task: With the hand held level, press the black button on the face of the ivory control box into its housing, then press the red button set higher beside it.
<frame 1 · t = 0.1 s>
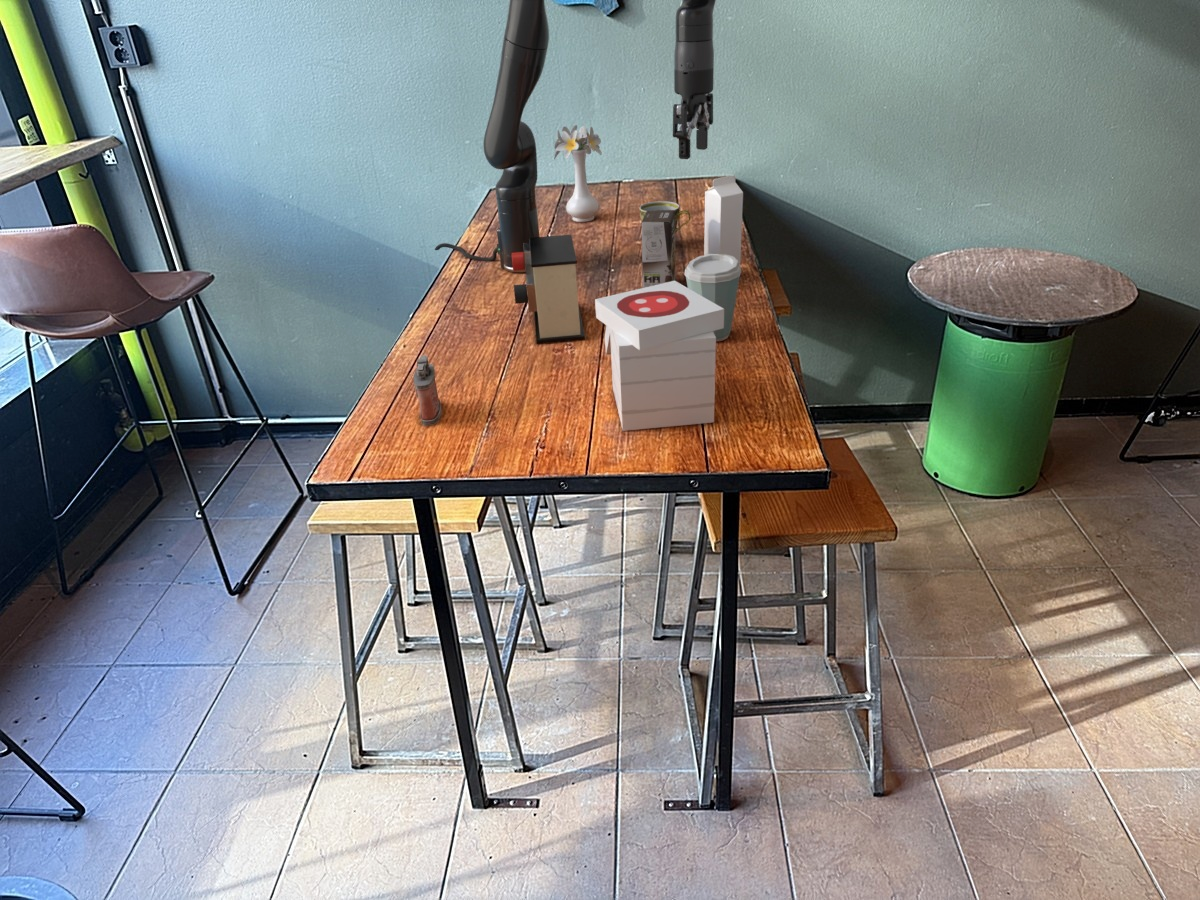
hand: (693, 153, 166), 29 cm above the table, tool pointing down, fingers open, 8 cm apart
milk: (721, 275, 190), on the table
flower vase: (581, 219, 234), on the table
red button: (518, 261, 167), point 12 cm above the table, slide at 0.1 cm
disposable coffee cup: (711, 336, 162), on the table
lighter: (431, 414, 140), on the table
ceramic cup: (665, 247, 209), on the table
coffee box: (659, 287, 185), on the table
black button: (520, 293, 161), point 9 cm above the table, slide at 0.1 cm
control box: (558, 324, 170), on the table
pizza boxes: (654, 391, 143), on the table
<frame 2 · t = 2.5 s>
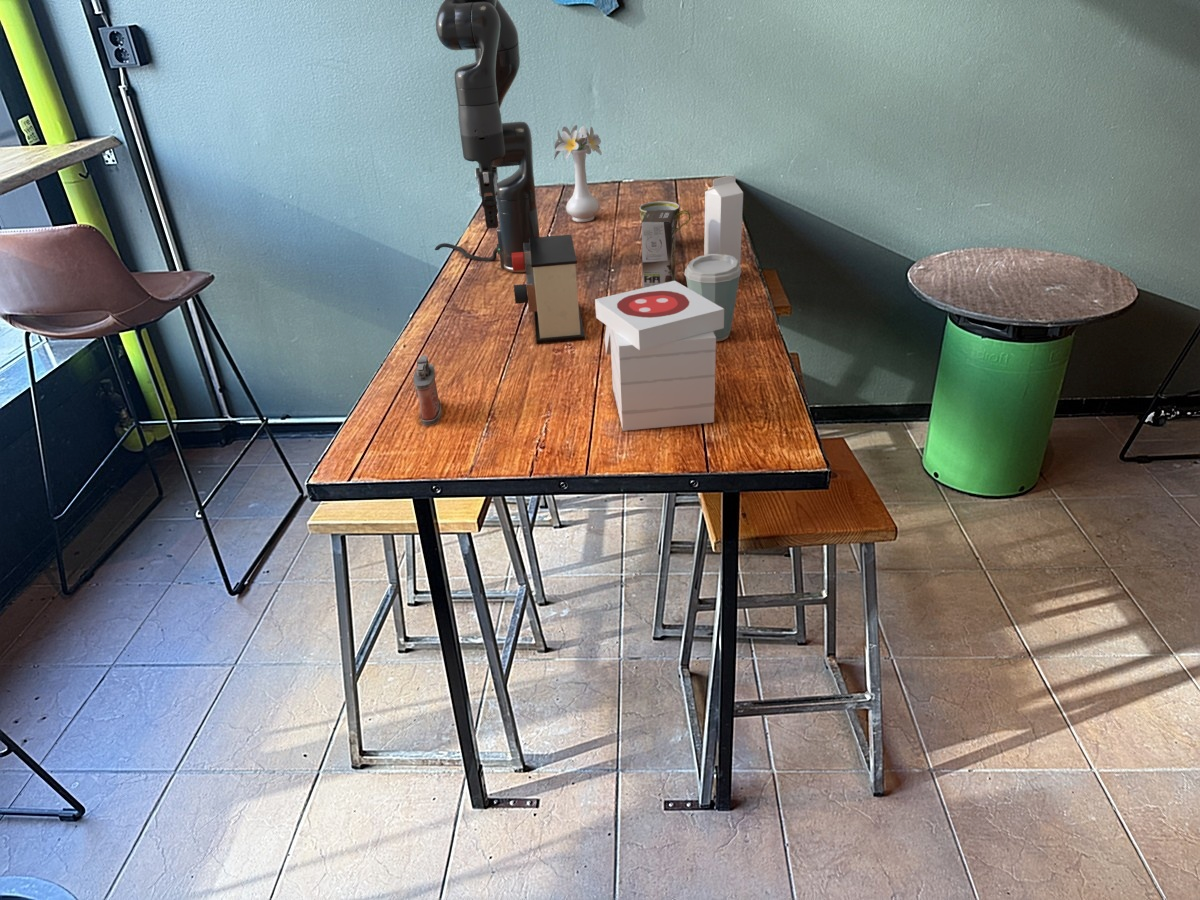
hand: (492, 221, 154), 23 cm above the table, tool pointing down, fingers open, 8 cm apart
nothing on the table moved.
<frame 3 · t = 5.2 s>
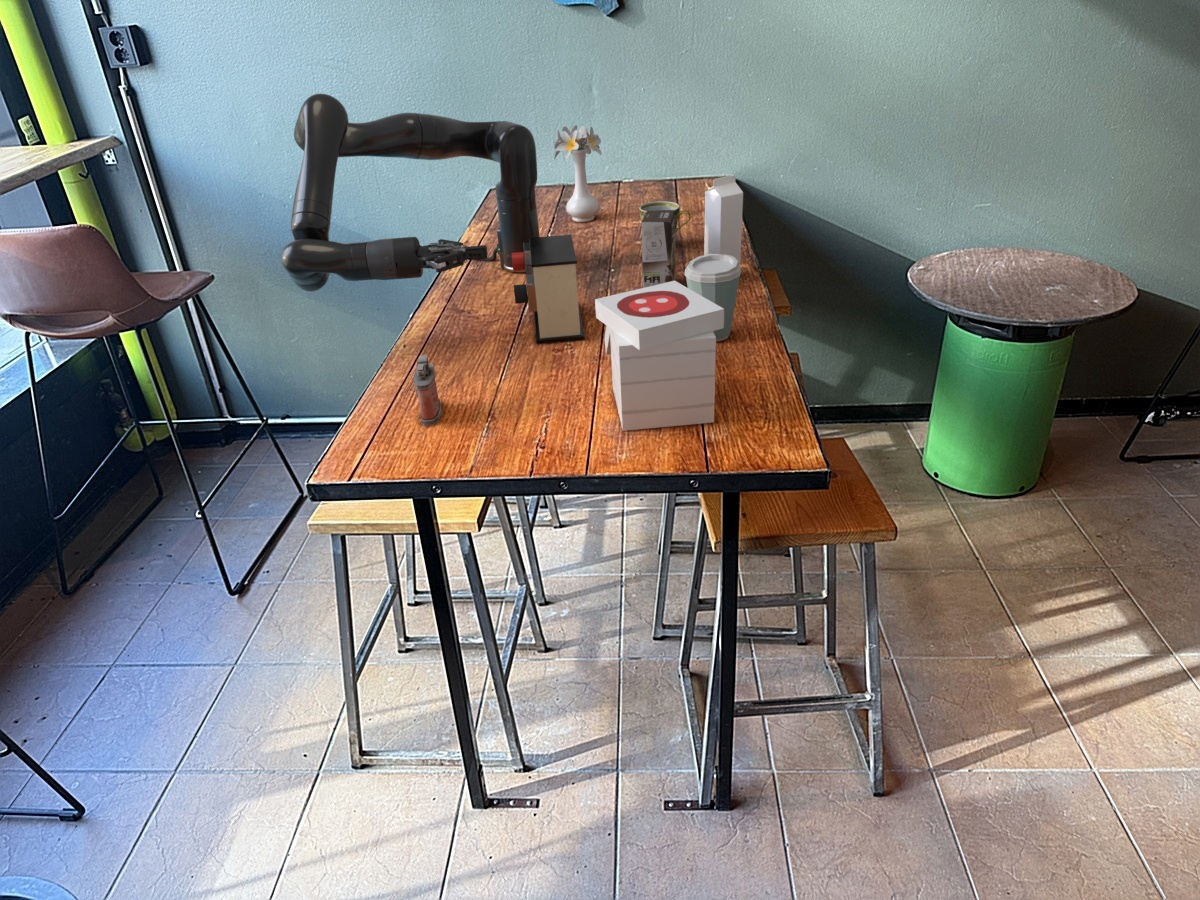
hand: (486, 251, 156), 18 cm above the table, tool horizontal, fingers closed
nothing on the table moved.
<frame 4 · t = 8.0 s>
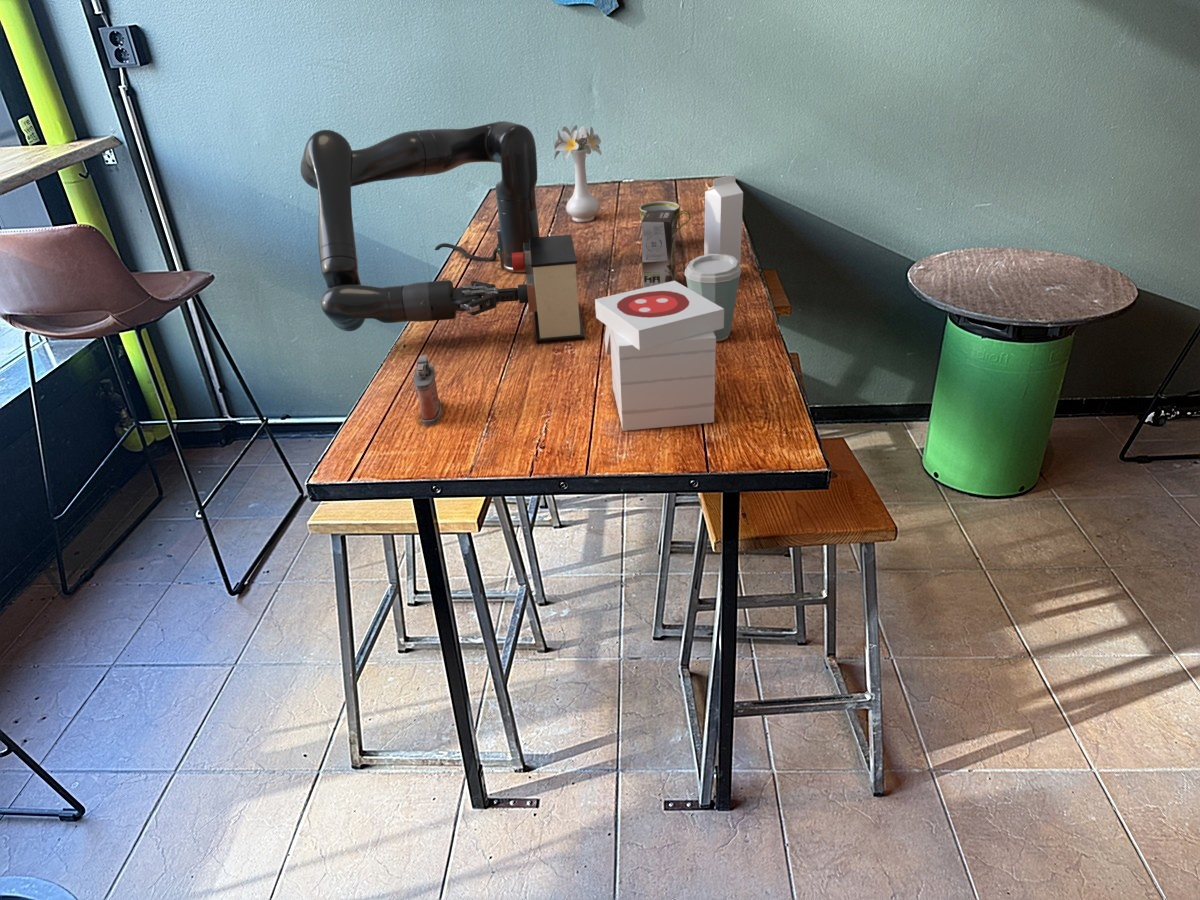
hand: (518, 294, 161), 9 cm above the table, tool horizontal, fingers closed
black button: (524, 293, 161), point 9 cm above the table, slide at -0.6 cm, touching gripper
everything else where it was.
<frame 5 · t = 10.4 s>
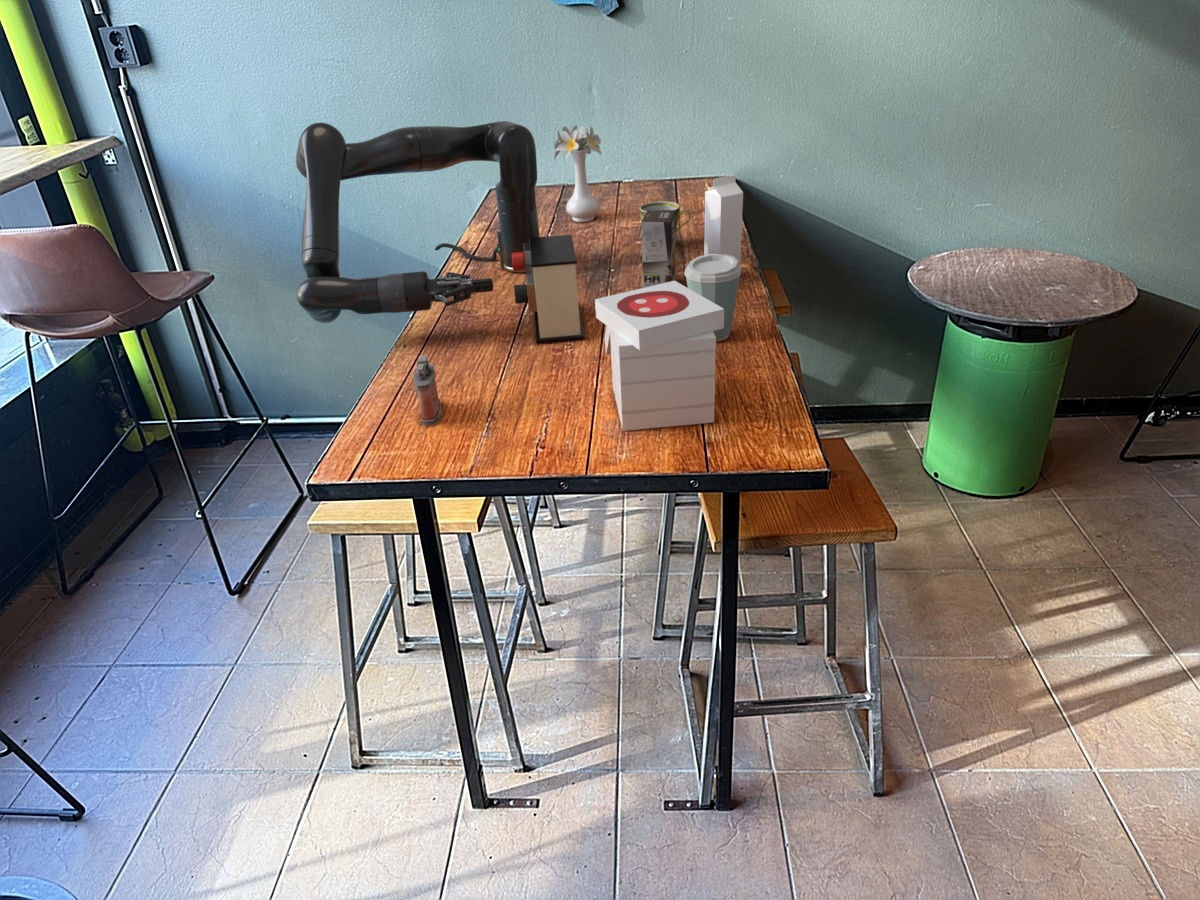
hand: (492, 284, 163), 10 cm above the table, tool horizontal, fingers closed
black button: (521, 293, 161), point 9 cm above the table, slide at 0.1 cm
everything else where it was.
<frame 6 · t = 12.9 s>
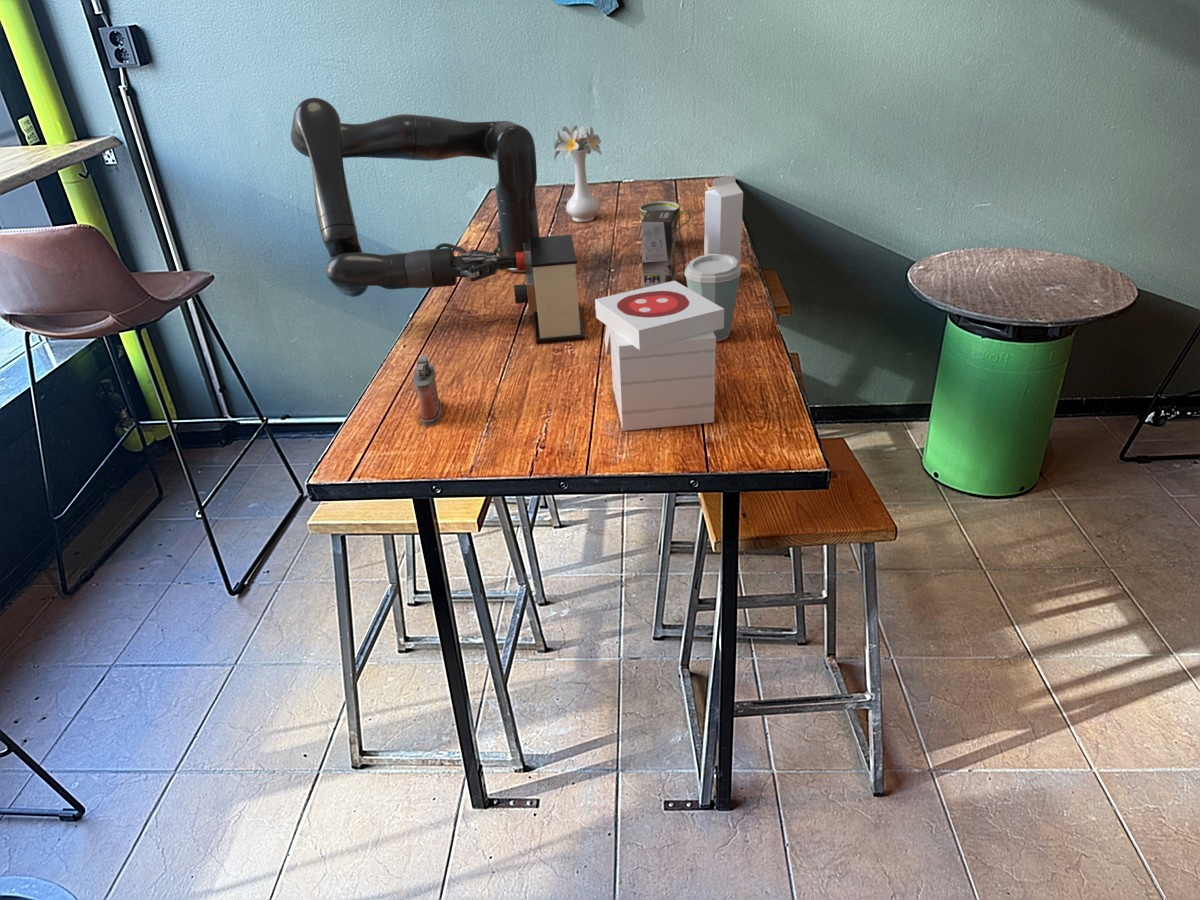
hand: (516, 261, 167), 13 cm above the table, tool horizontal, fingers closed
red button: (522, 261, 167), point 12 cm above the table, slide at -0.8 cm, touching gripper
everything else where it was.
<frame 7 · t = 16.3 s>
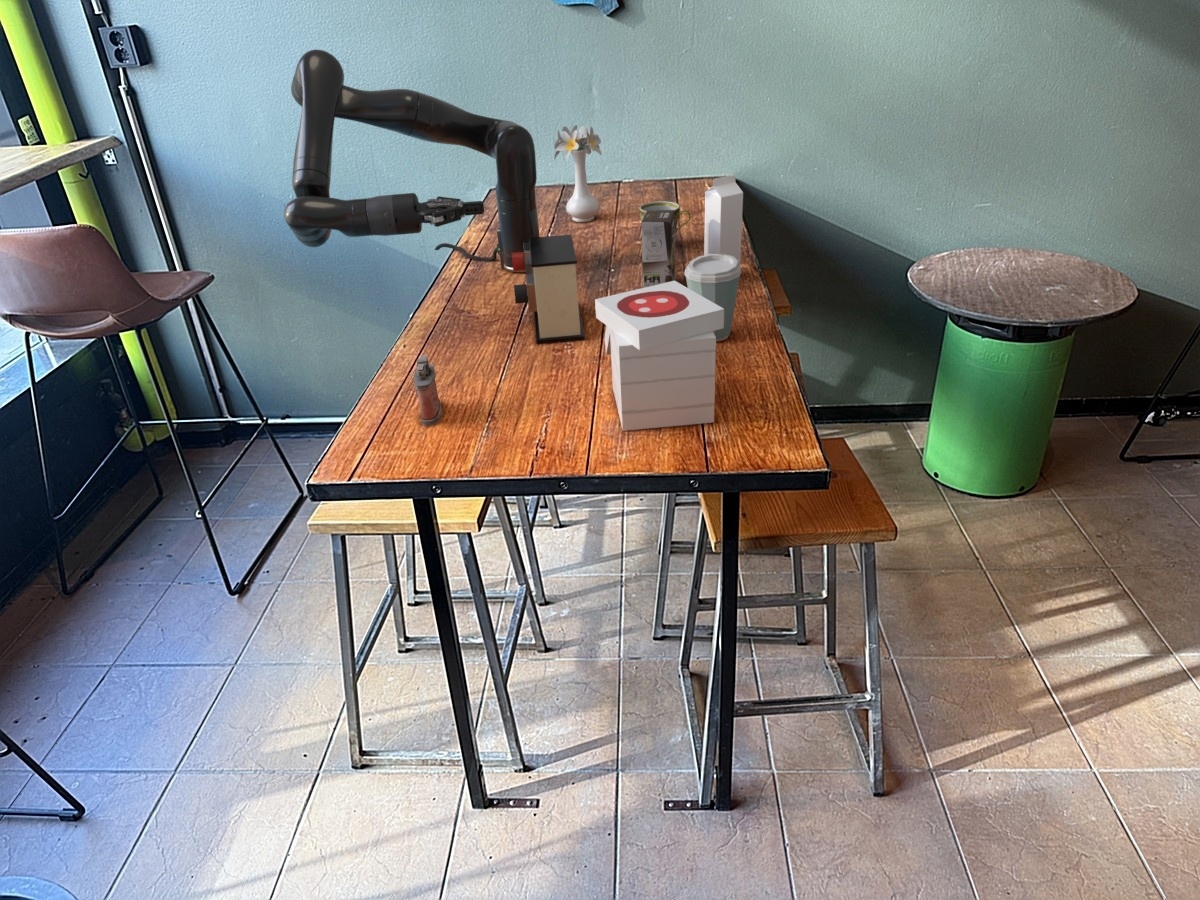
hand: (483, 207, 161), 24 cm above the table, tool horizontal, fingers closed
red button: (518, 261, 167), point 12 cm above the table, slide at 0.1 cm
everything else where it was.
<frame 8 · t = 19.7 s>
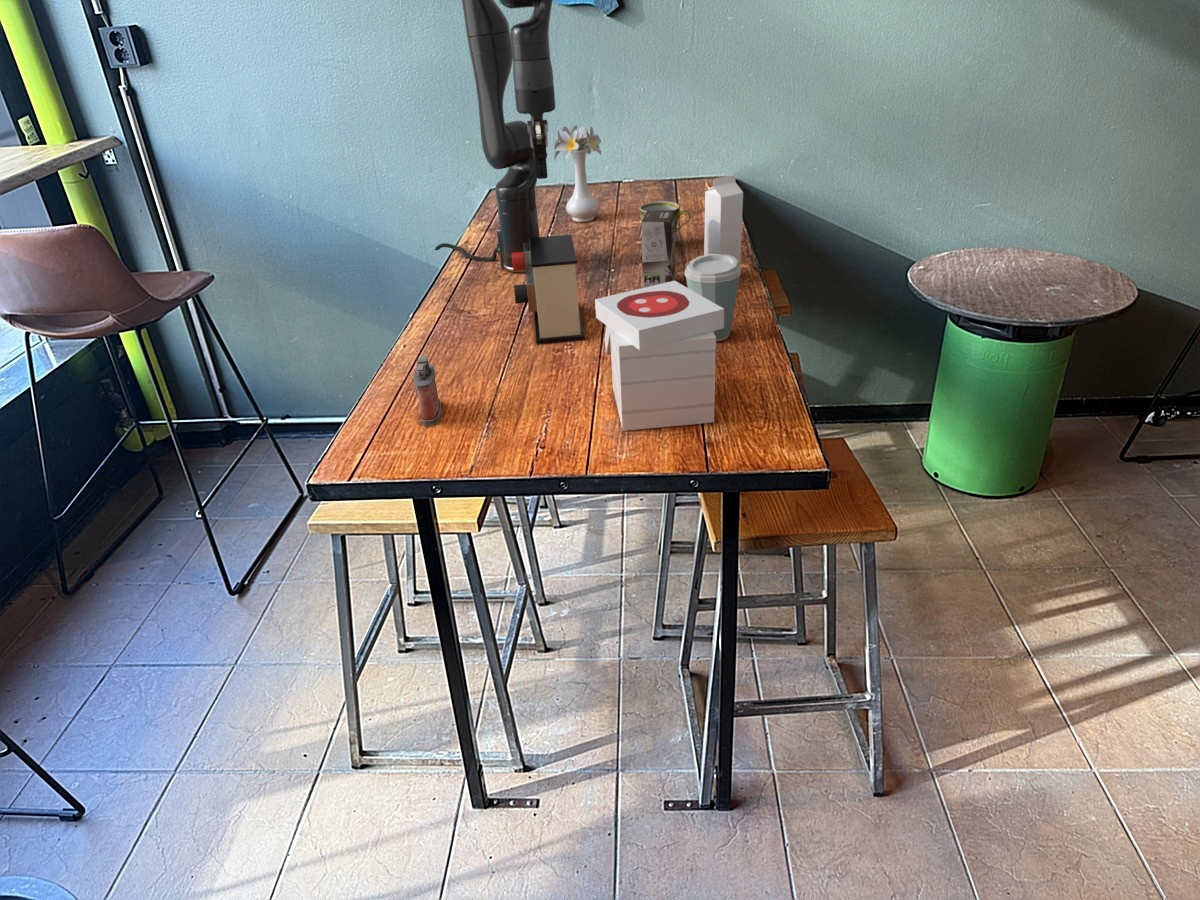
hand: (542, 177, 166), 27 cm above the table, tool pointing down, fingers closed
nothing on the table moved.
at the end: black button pushed in 1.2 cm at the most during the clip, back to where it started at the end; red button pushed in 1.2 cm at the most during the clip, back to where it started at the end; red button slide at 0.1 cm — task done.
